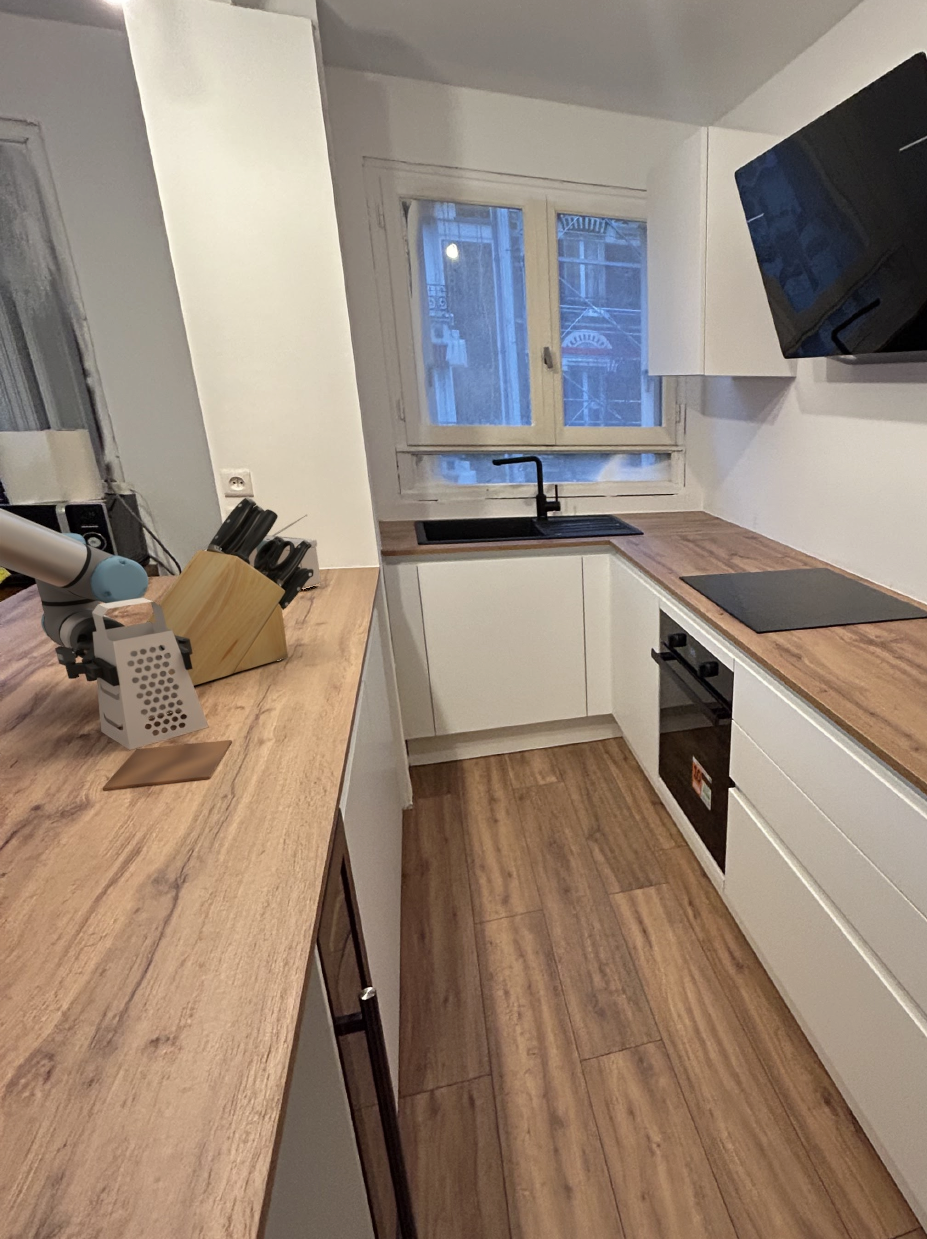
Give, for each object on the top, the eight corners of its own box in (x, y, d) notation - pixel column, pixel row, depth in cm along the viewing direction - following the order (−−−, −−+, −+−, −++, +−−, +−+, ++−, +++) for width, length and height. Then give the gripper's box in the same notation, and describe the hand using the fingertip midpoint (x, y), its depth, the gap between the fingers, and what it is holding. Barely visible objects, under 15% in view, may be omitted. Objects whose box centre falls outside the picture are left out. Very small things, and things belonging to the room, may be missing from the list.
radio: (243, 585, 201) (230, 512, 195) (268, 579, 209) (256, 509, 202) (302, 592, 195) (291, 517, 188) (326, 586, 203) (316, 514, 196)
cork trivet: (102, 790, 94) (102, 787, 94) (136, 751, 104) (136, 748, 104) (209, 778, 97) (209, 776, 97) (232, 742, 108) (231, 739, 108)
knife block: (331, 646, 152) (309, 496, 142) (153, 701, 122) (109, 515, 111) (294, 639, 156) (270, 492, 146) (113, 690, 126) (67, 509, 116)
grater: (209, 726, 113) (183, 602, 106) (130, 750, 105) (96, 616, 98) (178, 710, 118) (152, 591, 112) (101, 731, 110) (67, 603, 104)
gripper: (177, 645, 127) (235, 674, 115) (19, 677, 111) (67, 714, 98) (168, 604, 125) (227, 628, 112) (5, 629, 108) (52, 661, 96)
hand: (152, 668), depth 105 cm, fingers closed on grater, 8 cm apart
